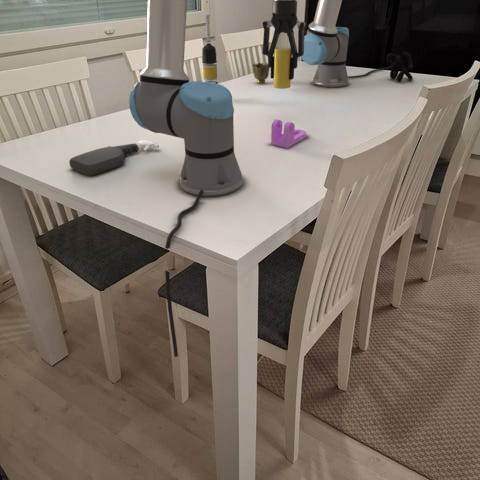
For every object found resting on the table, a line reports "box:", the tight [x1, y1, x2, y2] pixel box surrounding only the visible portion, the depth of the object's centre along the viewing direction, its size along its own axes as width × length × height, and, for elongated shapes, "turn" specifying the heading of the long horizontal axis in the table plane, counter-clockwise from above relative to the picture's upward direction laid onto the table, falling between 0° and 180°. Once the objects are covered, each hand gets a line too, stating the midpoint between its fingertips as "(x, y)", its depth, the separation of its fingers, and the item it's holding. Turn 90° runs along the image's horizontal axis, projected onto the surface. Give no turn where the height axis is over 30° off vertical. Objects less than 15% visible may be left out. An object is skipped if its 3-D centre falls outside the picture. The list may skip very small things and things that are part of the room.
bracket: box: [270, 119, 307, 149], centre depth 134 cm, size 13×6×7 cm, turn 143°
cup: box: [252, 62, 270, 85], centre depth 198 cm, size 8×7×8 cm
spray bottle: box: [68, 139, 160, 177], centre depth 124 cm, size 3×11×24 cm
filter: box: [201, 14, 219, 84], centre depth 171 cm, size 6×6×30 cm
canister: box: [272, 46, 293, 90], centre depth 147 cm, size 6×6×12 cm
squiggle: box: [385, 51, 414, 83], centre depth 198 cm, size 11×10×15 cm
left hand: (282, 78), depth 148 cm, fingers closed on canister, 6 cm apart
